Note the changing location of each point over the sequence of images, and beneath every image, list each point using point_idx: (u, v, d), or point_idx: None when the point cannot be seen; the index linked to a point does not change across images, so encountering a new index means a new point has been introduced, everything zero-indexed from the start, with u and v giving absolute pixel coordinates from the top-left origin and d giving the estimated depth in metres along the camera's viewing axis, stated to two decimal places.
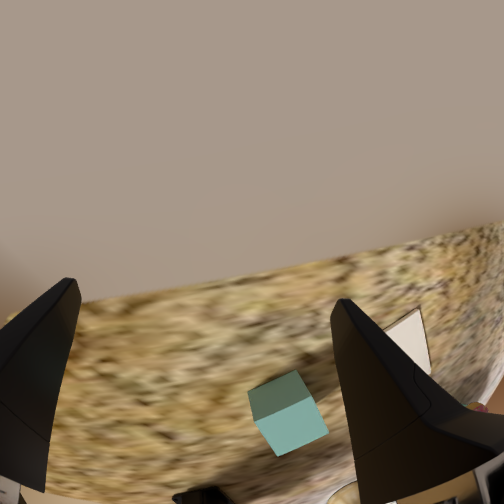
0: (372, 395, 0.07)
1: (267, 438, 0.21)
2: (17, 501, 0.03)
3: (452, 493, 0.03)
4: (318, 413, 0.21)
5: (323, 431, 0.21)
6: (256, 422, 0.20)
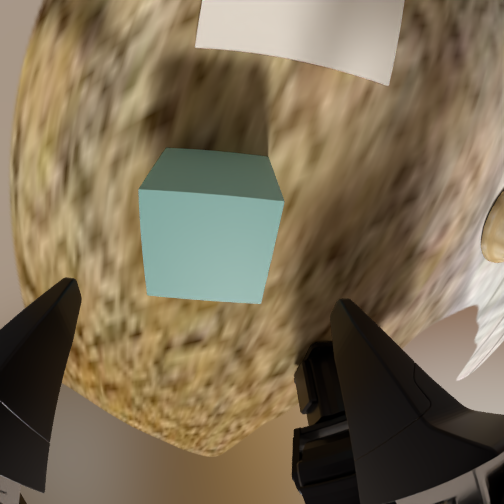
0: (372, 395, 0.07)
1: (199, 297, 0.12)
2: (17, 501, 0.03)
3: (452, 493, 0.03)
4: (200, 196, 0.10)
5: (266, 210, 0.10)
6: (151, 293, 0.12)
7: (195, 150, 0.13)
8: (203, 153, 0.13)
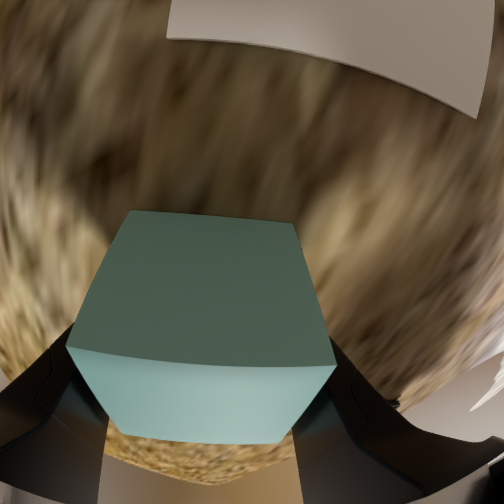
0: None
1: (193, 441, 0.07)
2: None
3: None
4: (177, 365, 0.05)
5: (303, 378, 0.05)
6: (126, 432, 0.07)
7: (175, 217, 0.08)
8: (187, 225, 0.08)
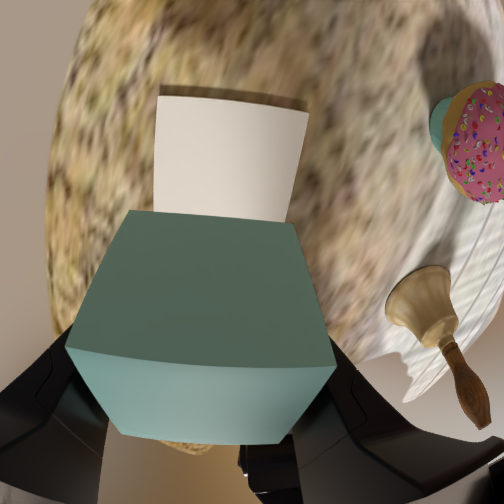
0: None
1: (192, 442, 0.07)
2: None
3: None
4: (176, 366, 0.05)
5: (303, 378, 0.05)
6: (126, 433, 0.07)
7: (174, 217, 0.08)
8: (187, 225, 0.08)
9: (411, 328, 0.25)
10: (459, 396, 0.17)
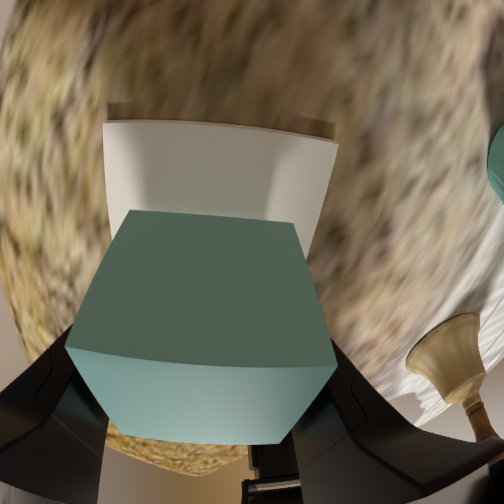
0: None
1: (192, 442, 0.07)
2: None
3: None
4: (177, 366, 0.05)
5: (303, 378, 0.05)
6: (126, 433, 0.07)
7: (174, 216, 0.08)
8: (187, 225, 0.08)
9: (434, 384, 0.19)
10: None
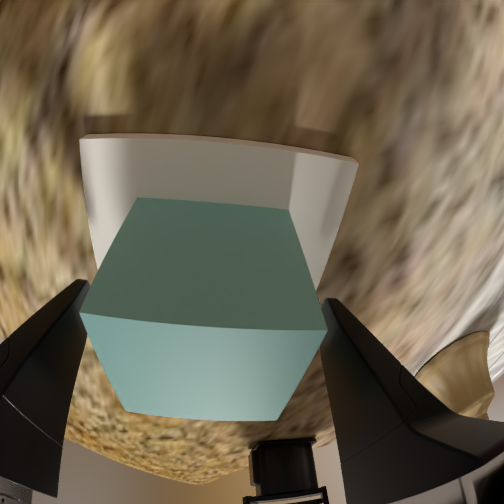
0: (357, 397, 0.07)
1: (194, 418, 0.08)
2: None
3: (437, 501, 0.03)
4: (182, 328, 0.05)
5: (297, 342, 0.06)
6: (130, 409, 0.08)
7: (179, 203, 0.09)
8: (191, 210, 0.09)
9: None
10: None
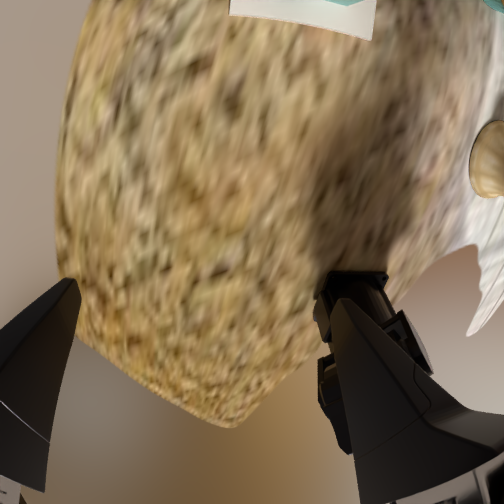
0: (372, 395, 0.07)
1: None
2: (16, 501, 0.03)
3: (452, 493, 0.03)
4: None
5: None
6: None
7: None
8: None
9: (502, 183, 0.17)
10: None
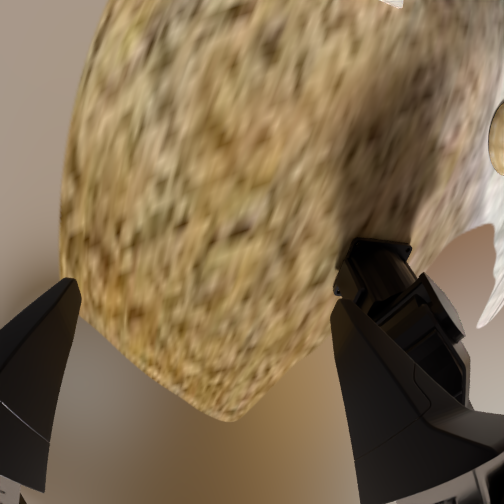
0: (372, 395, 0.07)
1: None
2: (17, 501, 0.03)
3: (452, 493, 0.03)
4: None
5: None
6: None
7: None
8: None
9: None
10: None
